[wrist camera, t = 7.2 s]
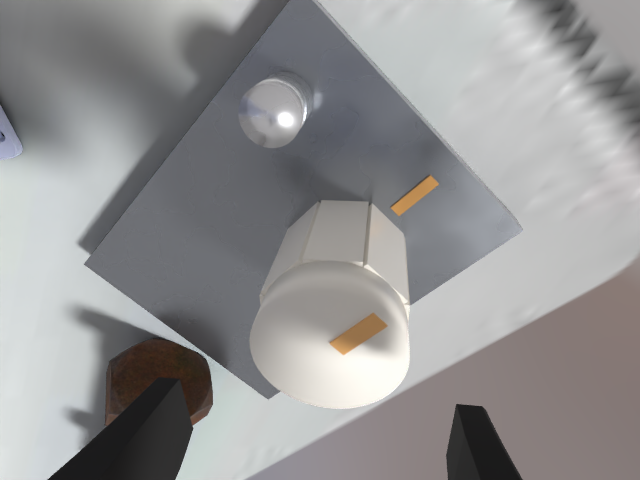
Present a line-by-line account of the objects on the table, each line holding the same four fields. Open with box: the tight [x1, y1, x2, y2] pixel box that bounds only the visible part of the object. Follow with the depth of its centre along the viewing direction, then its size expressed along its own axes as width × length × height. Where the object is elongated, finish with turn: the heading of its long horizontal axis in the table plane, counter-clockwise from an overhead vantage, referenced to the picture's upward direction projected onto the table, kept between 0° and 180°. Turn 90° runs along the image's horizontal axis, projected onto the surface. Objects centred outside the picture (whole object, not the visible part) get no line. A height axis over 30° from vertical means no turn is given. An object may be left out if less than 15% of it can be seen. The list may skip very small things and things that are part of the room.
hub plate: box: [84, 0, 523, 399], centre depth 18 cm, size 16×12×4 cm
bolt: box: [105, 338, 213, 426], centre depth 26 cm, size 6×5×15 cm
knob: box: [249, 200, 410, 409], centre depth 16 cm, size 5×5×6 cm
